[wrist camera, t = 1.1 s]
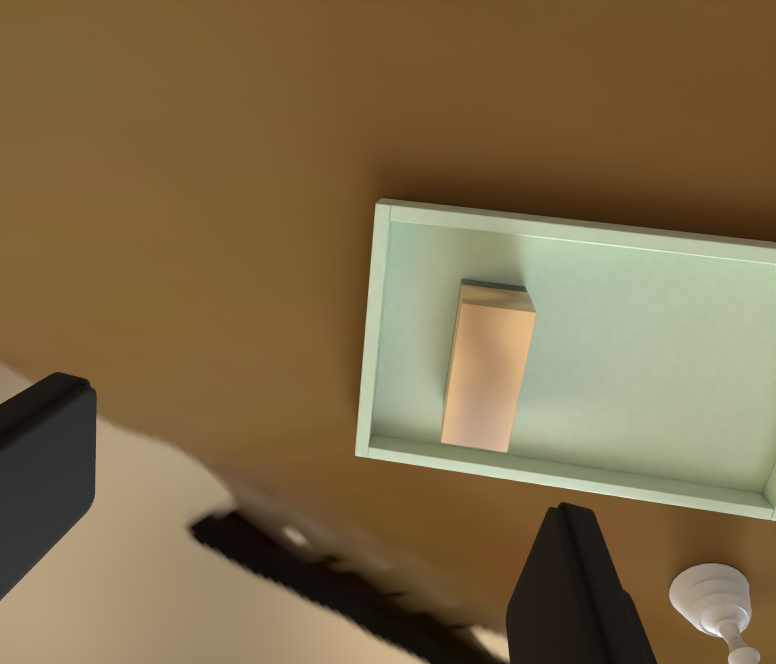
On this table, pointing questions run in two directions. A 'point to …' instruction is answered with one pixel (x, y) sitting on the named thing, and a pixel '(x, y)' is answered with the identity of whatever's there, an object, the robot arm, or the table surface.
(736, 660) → the chalice
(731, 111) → the table surface
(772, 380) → the tray
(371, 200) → the table surface
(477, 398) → the eraser
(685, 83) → the table surface
